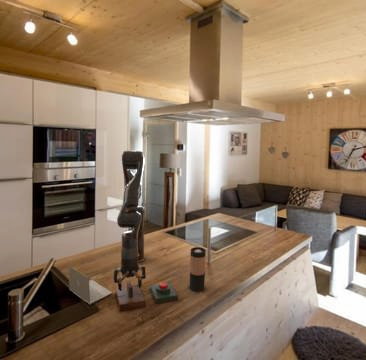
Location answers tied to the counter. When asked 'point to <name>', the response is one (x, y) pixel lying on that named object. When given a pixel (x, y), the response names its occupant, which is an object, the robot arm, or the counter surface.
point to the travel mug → (197, 268)
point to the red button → (163, 285)
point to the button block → (163, 293)
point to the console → (131, 302)
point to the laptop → (86, 287)
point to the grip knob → (129, 289)
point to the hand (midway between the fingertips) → (129, 288)
